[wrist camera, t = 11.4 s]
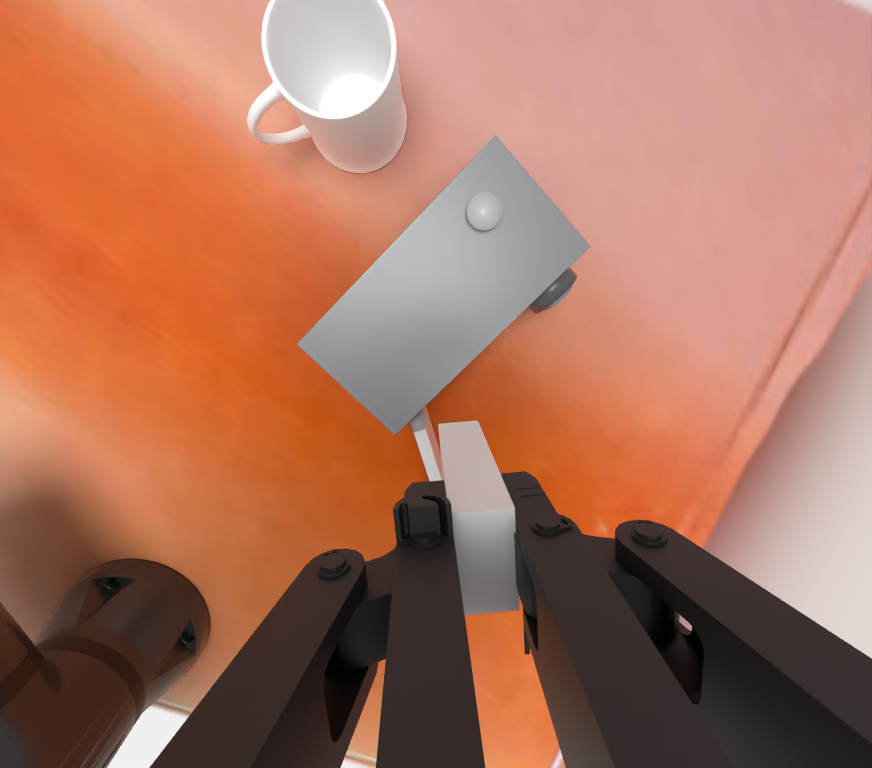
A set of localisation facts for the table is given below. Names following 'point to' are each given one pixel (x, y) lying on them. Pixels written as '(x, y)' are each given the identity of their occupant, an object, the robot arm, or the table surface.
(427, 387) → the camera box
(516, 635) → the table surface
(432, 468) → the door
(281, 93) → the mug
